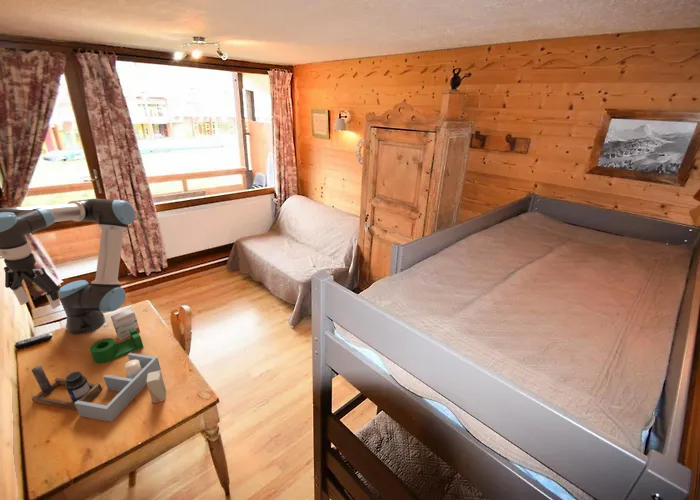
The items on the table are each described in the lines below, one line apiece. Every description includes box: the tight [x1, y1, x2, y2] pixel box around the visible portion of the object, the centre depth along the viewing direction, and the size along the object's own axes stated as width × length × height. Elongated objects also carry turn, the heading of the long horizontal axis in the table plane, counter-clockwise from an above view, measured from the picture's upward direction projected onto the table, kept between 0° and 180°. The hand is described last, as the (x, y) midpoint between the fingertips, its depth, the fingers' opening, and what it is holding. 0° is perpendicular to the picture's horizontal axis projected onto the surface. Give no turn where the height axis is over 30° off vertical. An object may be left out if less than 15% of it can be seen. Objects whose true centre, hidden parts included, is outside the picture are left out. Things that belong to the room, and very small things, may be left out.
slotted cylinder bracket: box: [89, 328, 144, 364], centre depth 145 cm, size 18×9×6 cm, turn 135°
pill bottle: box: [64, 371, 90, 403], centre depth 121 cm, size 6×6×11 cm
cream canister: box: [124, 360, 143, 379], centre depth 131 cm, size 5×5×8 cm
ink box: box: [110, 308, 141, 341], centre depth 155 cm, size 9×5×12 cm, turn 141°
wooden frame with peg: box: [31, 365, 103, 411], centre depth 122 cm, size 10×20×12 cm, turn 81°
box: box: [146, 369, 167, 404], centre depth 123 cm, size 5×4×11 cm
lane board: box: [74, 352, 161, 423], centre depth 126 cm, size 26×13×6 cm, turn 171°
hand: (40, 304), depth 124 cm, fingers open, 13 cm apart
